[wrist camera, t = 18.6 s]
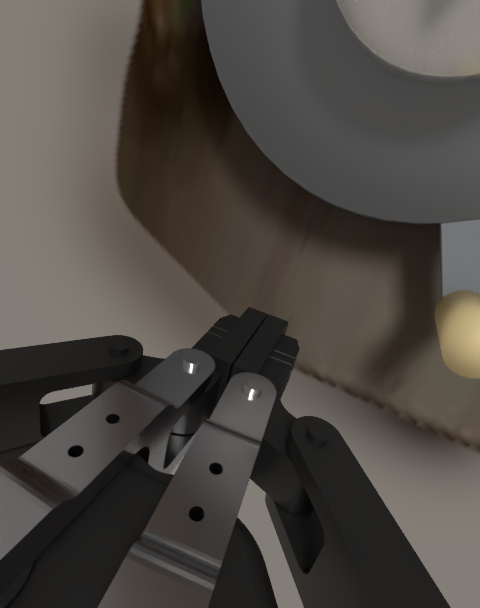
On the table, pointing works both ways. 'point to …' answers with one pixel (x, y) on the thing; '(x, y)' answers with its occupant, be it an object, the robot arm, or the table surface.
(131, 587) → the robot arm
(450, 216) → the turntable
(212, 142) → the table surface
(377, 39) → the cover
